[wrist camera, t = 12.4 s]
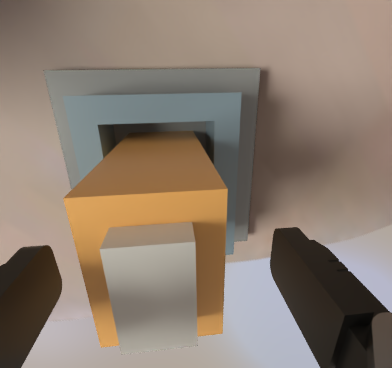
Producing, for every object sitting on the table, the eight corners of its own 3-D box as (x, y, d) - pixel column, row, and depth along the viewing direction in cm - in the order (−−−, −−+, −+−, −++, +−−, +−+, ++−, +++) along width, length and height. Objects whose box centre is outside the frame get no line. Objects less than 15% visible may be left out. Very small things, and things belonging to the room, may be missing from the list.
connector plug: (192, 130, 17) (236, 204, 6) (194, 204, 19) (228, 361, 8) (129, 132, 16) (44, 216, 5) (138, 208, 19) (92, 379, 8)
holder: (255, 69, 17) (283, 61, 12) (244, 234, 22) (261, 267, 18) (51, 71, 15) (7, 63, 11) (90, 246, 21) (70, 285, 16)
